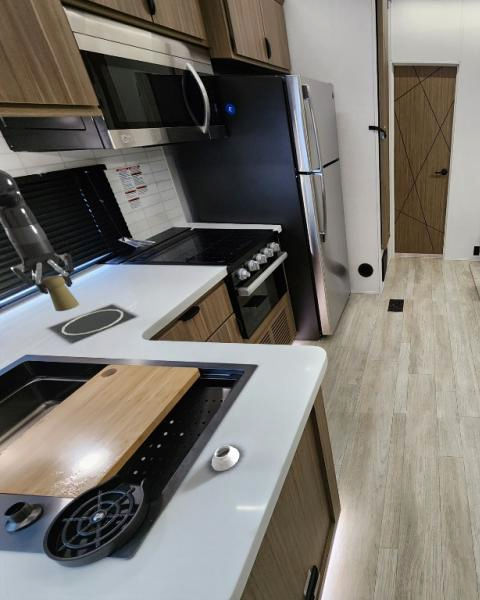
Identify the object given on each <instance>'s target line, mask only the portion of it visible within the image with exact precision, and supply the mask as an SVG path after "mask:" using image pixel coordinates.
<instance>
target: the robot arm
mask: <svg viewBox="0 0 480 600" xmlns="http://www.w3.org/2000/svg"><path fill="white" fill-rule="evenodd" d="M0 224H1V226H2V227H3V229H4V230H5V231H4V232H5V233H6V236H7V237H8V239H9V241H10V242H11V244H12V246H13V248H14V250H15V251H16V253H17V255H18V256H19V258H20V259H21V263H20V264H18V265H16V266H14V265H13V266H11V267H10V270H11V271H12V272H13V273H14V274H15V275H16V276H17V277H18V278H19V279H20V280H21V281H22V282H23V283H25V284H27V285H28V286H29V285H35V287H36V288H37V290H38V291H39V292H40V293H41V294H44V295H48V294H49V291H48V288H46V287H45V286H44V284H43V283H42V277H43V274H44V273H46V272H48V271H56V272H57V273H58V274H59V275H60V276H62V277H63V278H64V280H65V286H66V287H67V288H71V287H72V285H73V281H72V279H71V277H70V274H73V273H74V272H75V267H74V262H73V259H72V254H71V255H70V254H69V253H63V254H59V253H57V252H55V250H54V248H53V246H52V245H51V242H50V241H49V239H48V236H47V234H46V233H45V232H44V229H43V228H42V227H41V226H40V224H39V223H38V221H37V219H36V217H35V215H34V213H33V211H32V210H31V208H30V207H29V206H28V205H27V203H26V201H25V199H24V197H23V194H22V193H21V190H20V188H19V186H18V184H17V182H16V180H15V178H14V177H13V176H12V175H11V174H10V173H8V172H7V171H5V170H1V169H0ZM60 259H61V261H63V262H64V266H65V269H63V267H61V266H60V265H58V264H59V262H60ZM25 268H27V269H28V270H30V271H31V275H32V278H29V277H28V276H27V275H26V274H25V273H24V272H25ZM49 295H50V294H49Z"/></svg>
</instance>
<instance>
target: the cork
mask: <svg viewBox="0 0 480 600" xmlns="http://www.w3.org/2000/svg"><path fill="white" fill-rule="evenodd" d="M41 283H43V284H44V286H45V288H46V289H47V291H48V293H49V296H50V299H51V302H52V304H53V307H54V310H55V311H56V312H65V311H69V310H72V309H75V308H77V307H78V306H79V305H80V302H79V301H78V300H77V298H76V297H75V296H74V295H73V294H72V292H71V291H70V289H69V287H67V286H66V284H65V280H64V278H63V277H62V275H60V274H59V275H58V274H53V275H49V276H46V277H43V278H42V279H41Z"/></svg>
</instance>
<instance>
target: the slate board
mask: <svg viewBox="0 0 480 600" xmlns="http://www.w3.org/2000/svg"><path fill="white" fill-rule="evenodd" d="M134 318H136V315H133V314H131V313H129V312H127V311H125V310H123V309H121V308H119V307H116V306H115V305H113V304H110V305H107V306H104V307H102V308H99V309H96V310H94V311H91V312H88V313H85V314H83V315H80V316H77V317H74V318H72V319H69V320H66V321H63V322H61V323H58V324H55V325H52V326H50V329H52V330H53V331H54V332H56V333H57V334H59V335H60V336H62V337H63V338H65V339H66V340H68V341H69V342H71V343H72V344H74V343H76V342H79V341H81V340H83V339H85V338H88V337H91V336H94V335H95V334H97V333H101V332H102V331H105V330H108V329H110V328H112V327H115V326H117V325H119V324H120V325H121V324H122V323H124V322H126V321H130V320H131V319H134Z"/></svg>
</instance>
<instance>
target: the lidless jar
mask: <svg viewBox="0 0 480 600" xmlns="http://www.w3.org/2000/svg"><path fill="white" fill-rule="evenodd" d="M227 451H228V452H227ZM224 452H227V453H226V454H225V455H223V456H220V455H221V454H222V453H224ZM219 456H220V457H219ZM239 459H240V452H239V451H238V449H237V448H235V447H233V446H231V445H228V444H224V445H220V446H219V447H217V449H215V451H214V453H213V457H212V459H211V466H212V468H213V470H215V471H217V472H223V471H227V470H229V469H230V468H232V467H234V465H235V464H237V462H238V460H239Z"/></svg>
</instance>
